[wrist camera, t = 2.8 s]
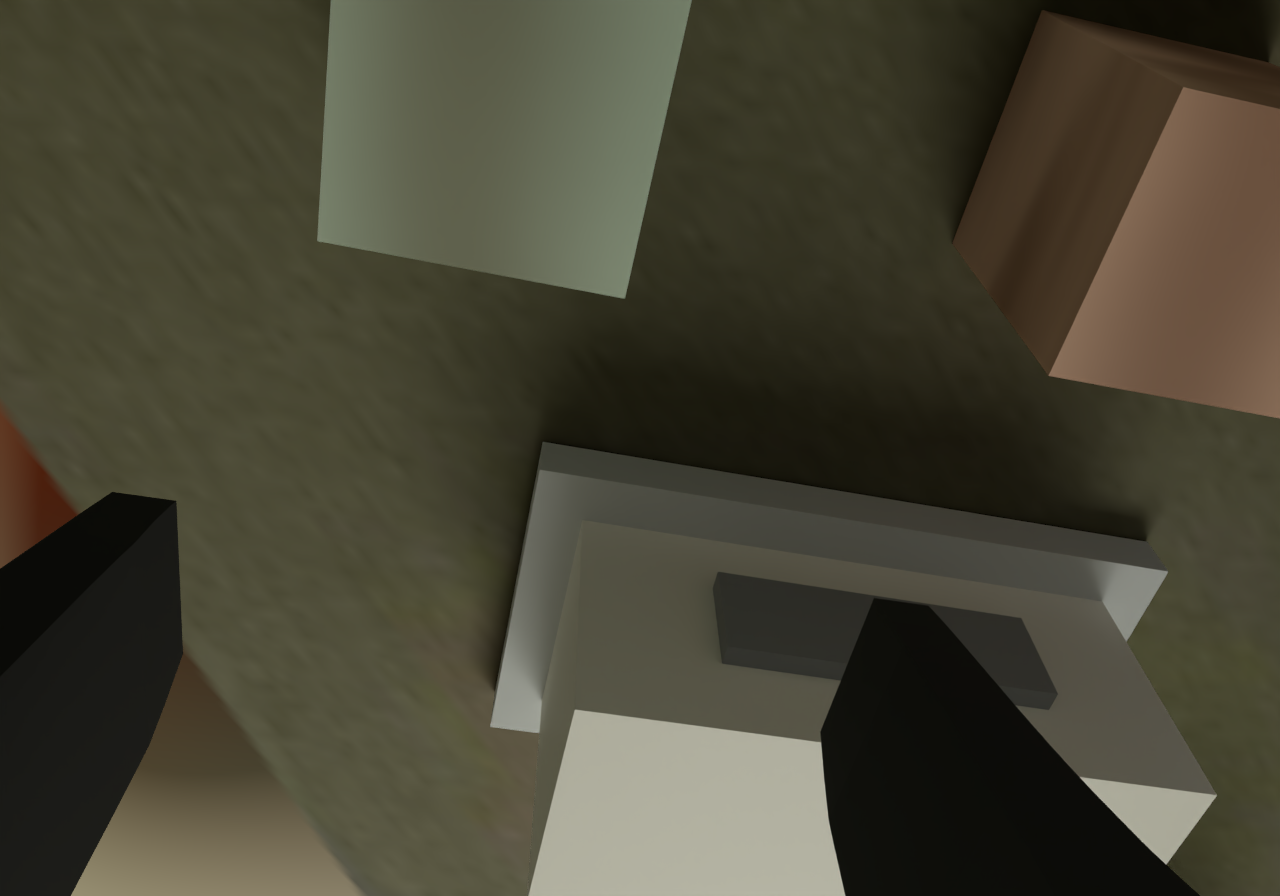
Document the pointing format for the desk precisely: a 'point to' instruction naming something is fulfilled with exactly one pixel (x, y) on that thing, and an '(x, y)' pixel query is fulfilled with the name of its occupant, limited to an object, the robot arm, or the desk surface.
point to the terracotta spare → (1136, 215)
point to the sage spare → (498, 132)
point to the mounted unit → (790, 666)
